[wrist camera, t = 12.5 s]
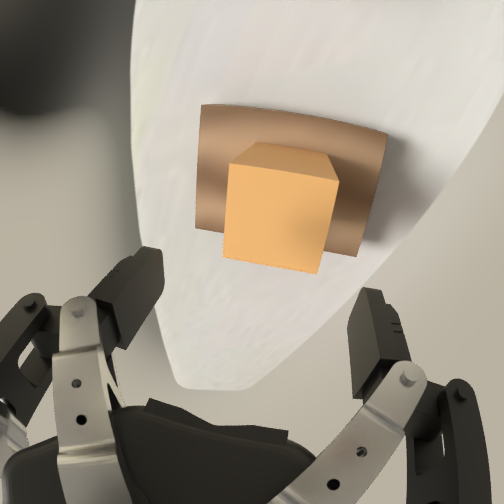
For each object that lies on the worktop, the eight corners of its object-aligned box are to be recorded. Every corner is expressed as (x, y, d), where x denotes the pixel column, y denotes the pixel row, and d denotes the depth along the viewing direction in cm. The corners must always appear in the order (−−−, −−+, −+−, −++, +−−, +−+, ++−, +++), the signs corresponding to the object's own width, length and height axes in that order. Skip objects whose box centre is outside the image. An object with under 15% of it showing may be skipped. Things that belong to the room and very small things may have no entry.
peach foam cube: (255, 142, 23) (229, 163, 15) (326, 153, 22) (339, 181, 14) (245, 236, 27) (220, 294, 20) (307, 247, 27) (306, 310, 19)
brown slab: (214, 104, 25) (171, 106, 17) (376, 130, 24) (412, 144, 15) (207, 213, 31) (170, 258, 23) (351, 238, 30) (366, 294, 21)
